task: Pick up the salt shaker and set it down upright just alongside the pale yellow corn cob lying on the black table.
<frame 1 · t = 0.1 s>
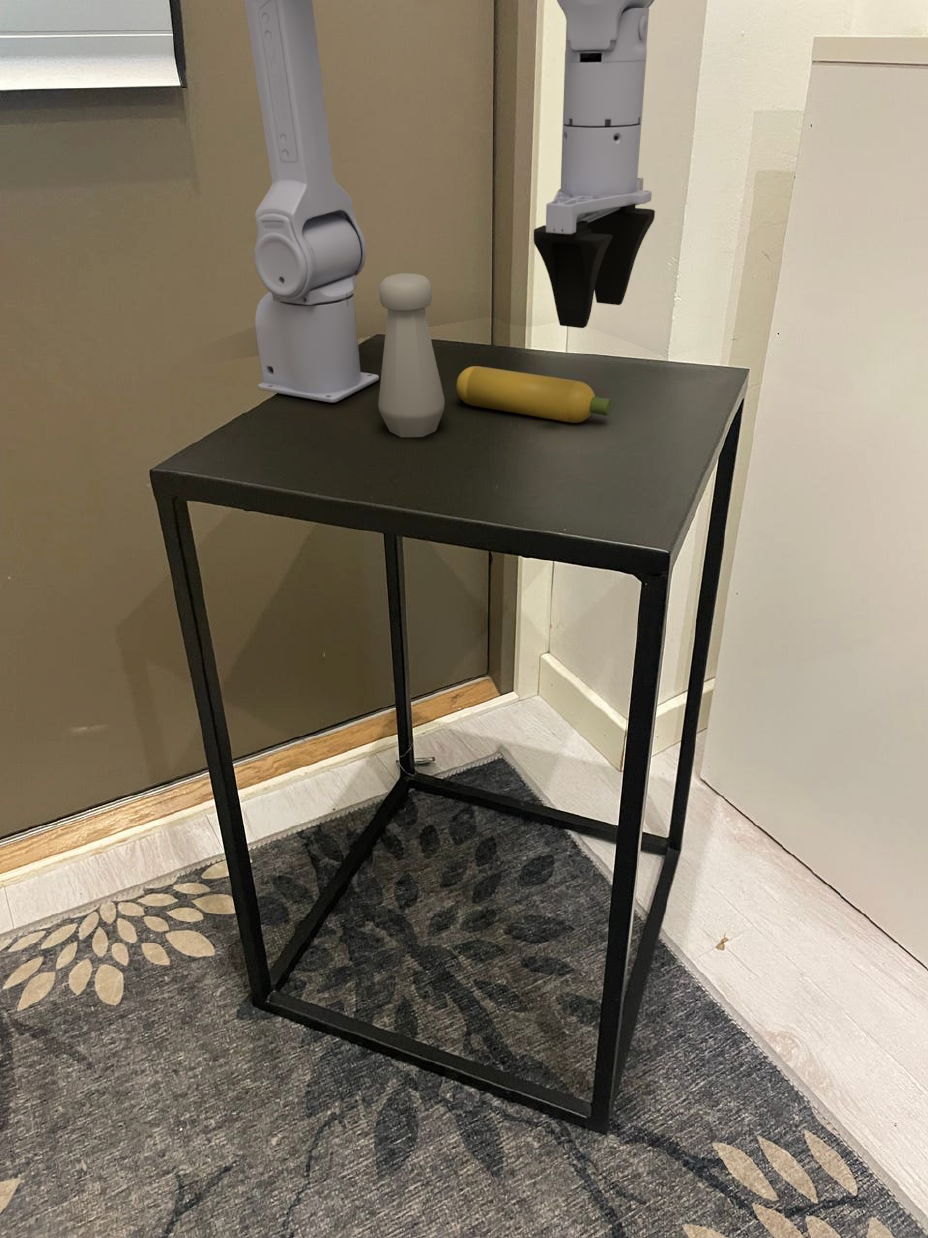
hand: (591, 314, 74), 10 cm above the table, tool pointing down, fingers open, 7 cm apart
salt shaker: (413, 431, 82), on the table
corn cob: (523, 412, 84), on the table
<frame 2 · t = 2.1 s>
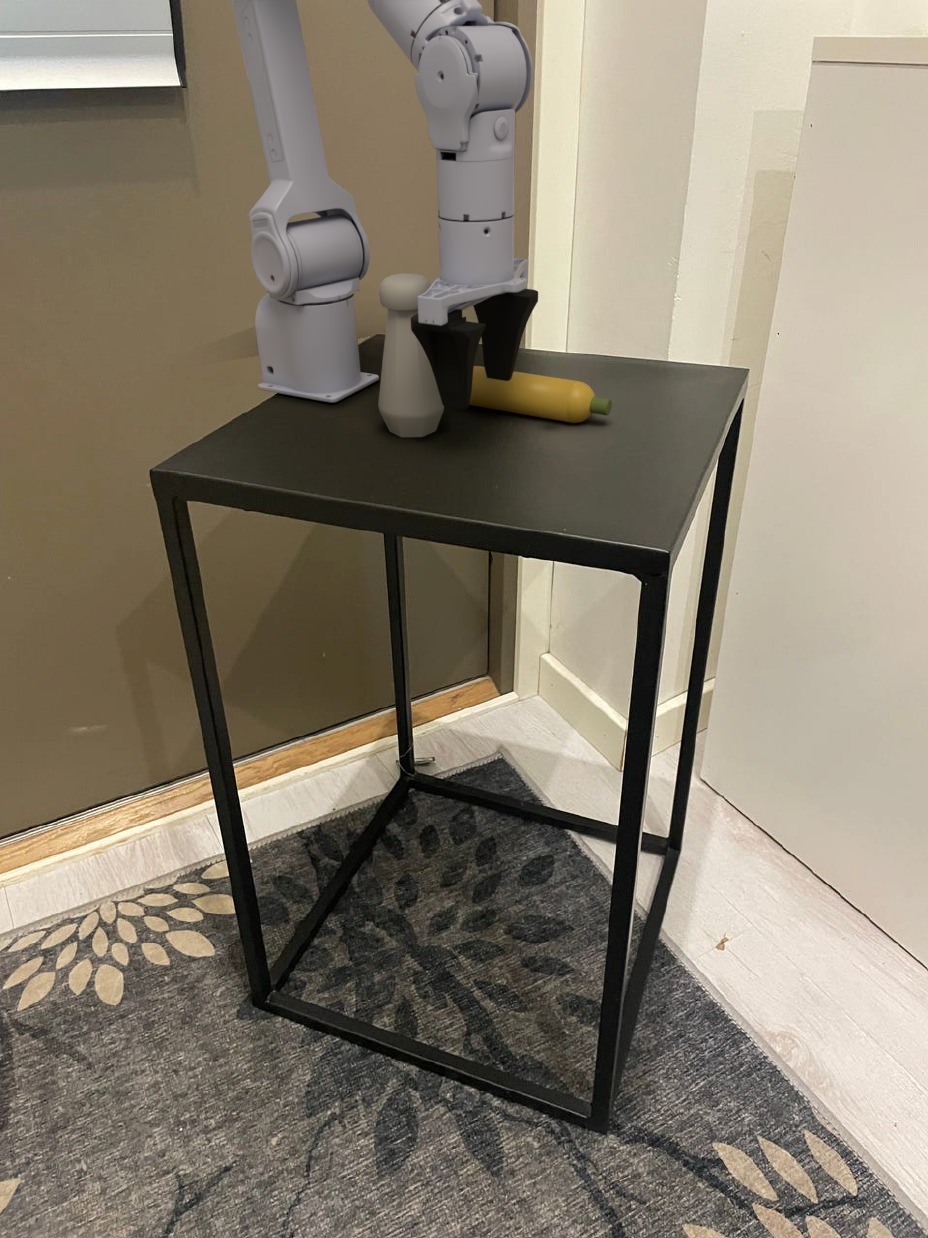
hand: (478, 391, 76), 4 cm above the table, tool pointing down, fingers open, 7 cm apart
nothing on the table moved.
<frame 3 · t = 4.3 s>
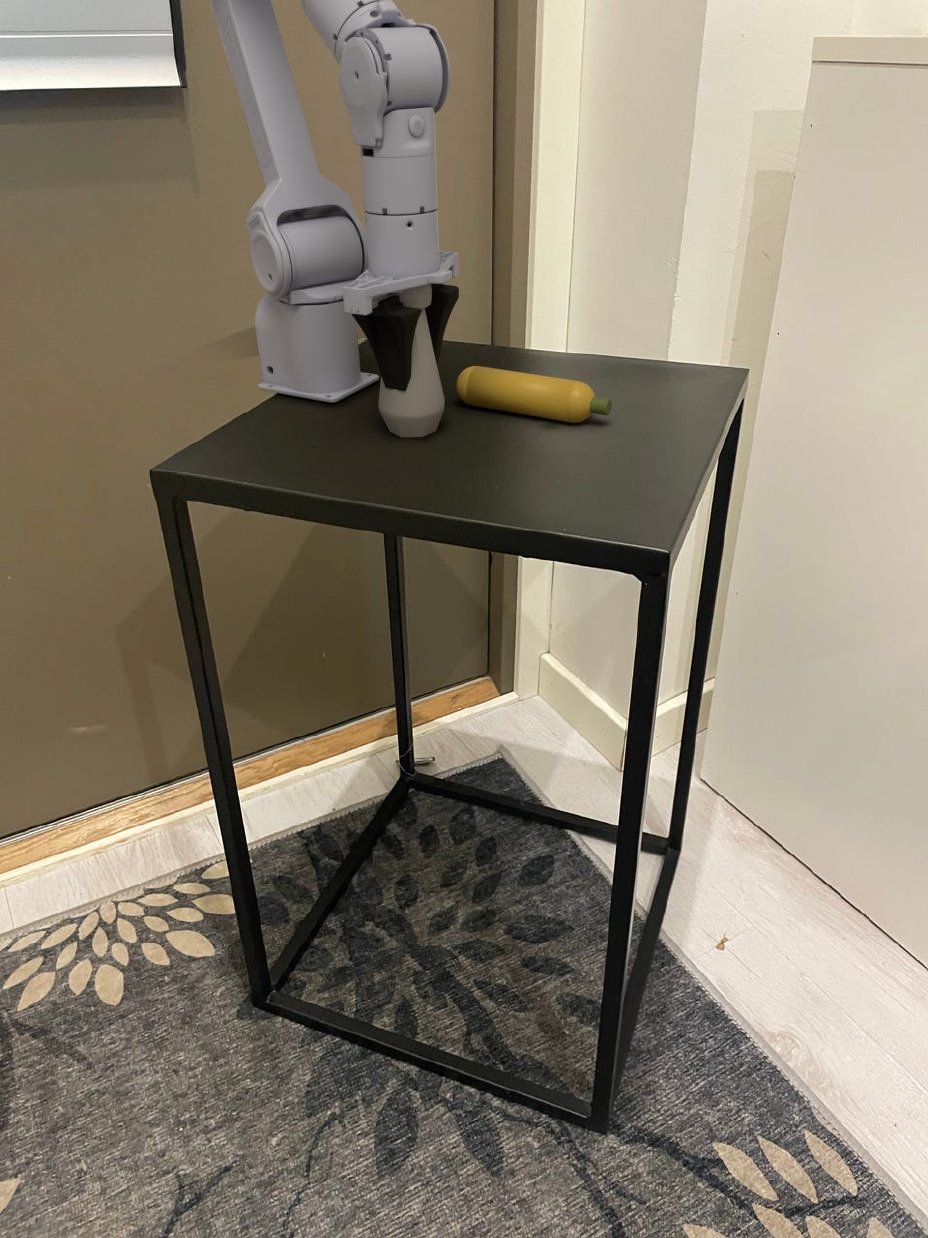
hand: (410, 380, 79), 4 cm above the table, tool pointing down, fingers closed on salt shaker, 4 cm apart
salt shaker: (413, 431, 82), on the table, touching gripper
everything else where it was.
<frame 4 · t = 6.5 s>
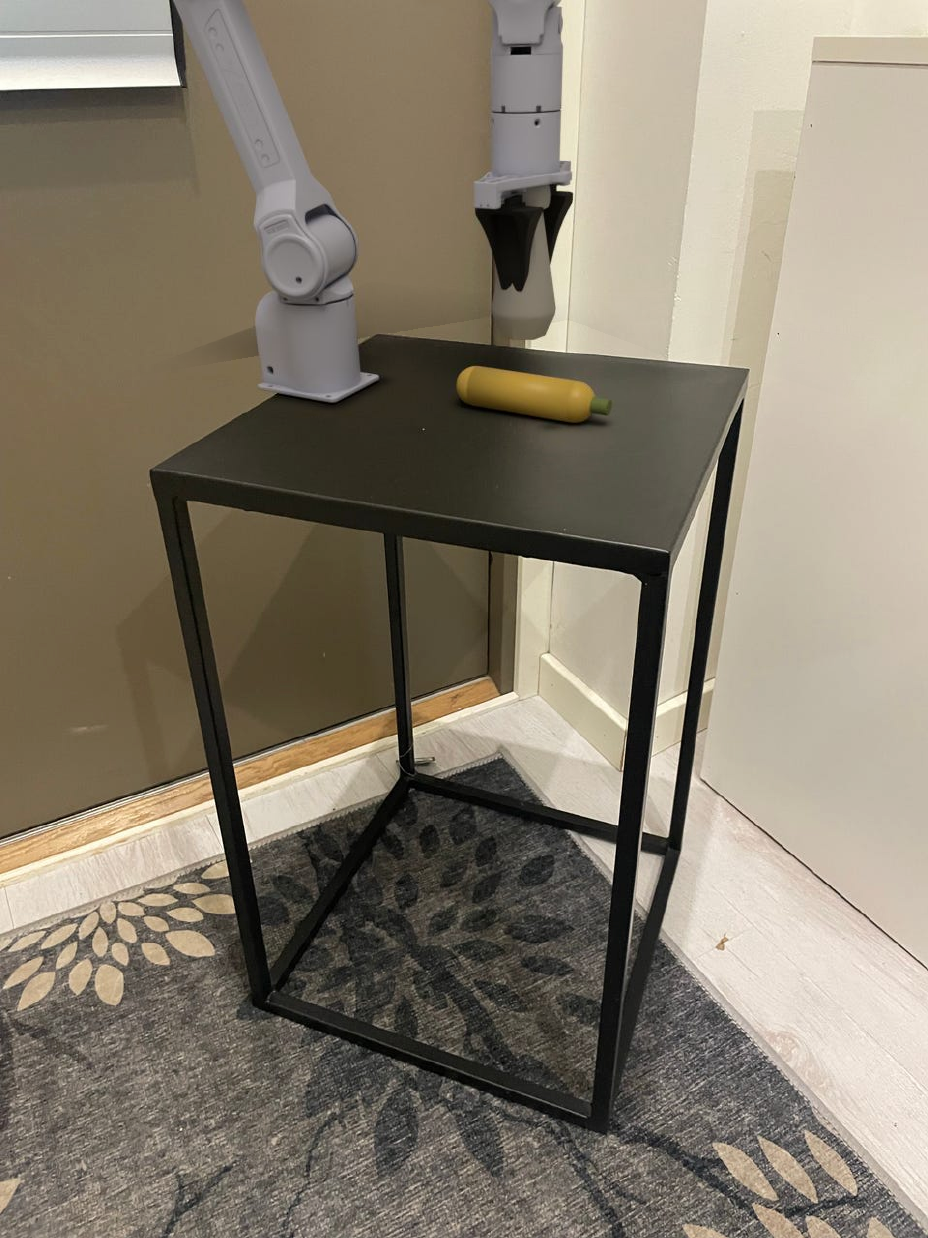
hand: (524, 284, 82), 10 cm above the table, tool pointing down, fingers closed on salt shaker, 4 cm apart
salt shaker: (522, 336, 84), point 6 cm above the table, touching gripper
everything else where it was.
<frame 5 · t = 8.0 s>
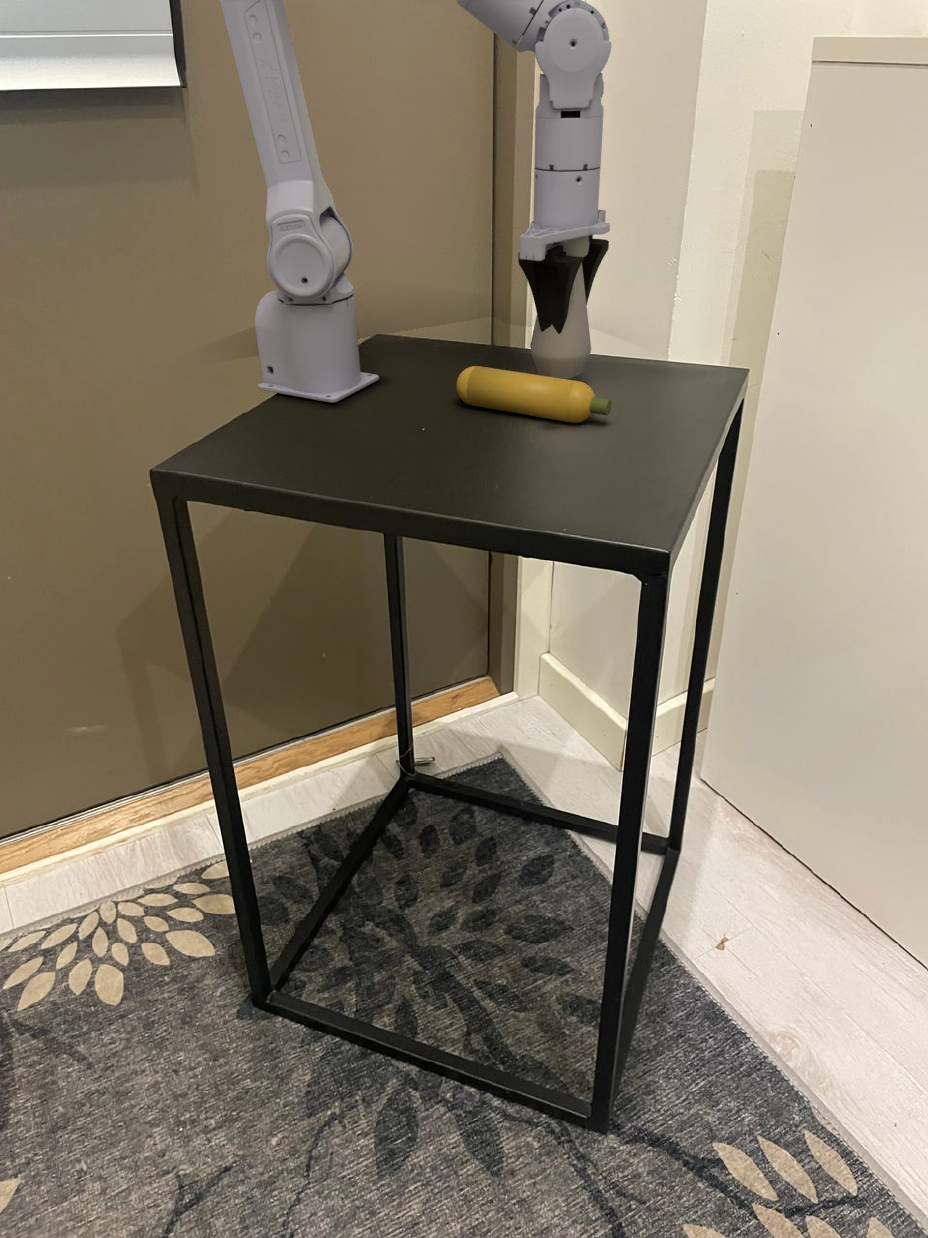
hand: (561, 326, 87), 6 cm above the table, tool pointing down, fingers closed on salt shaker, 4 cm apart
salt shaker: (559, 374, 89), point 1 cm above the table, touching gripper
everything else where it was.
when the fingers open (4 cm above the table, at t = 8.9 s): salt shaker stays where it is, on the table.
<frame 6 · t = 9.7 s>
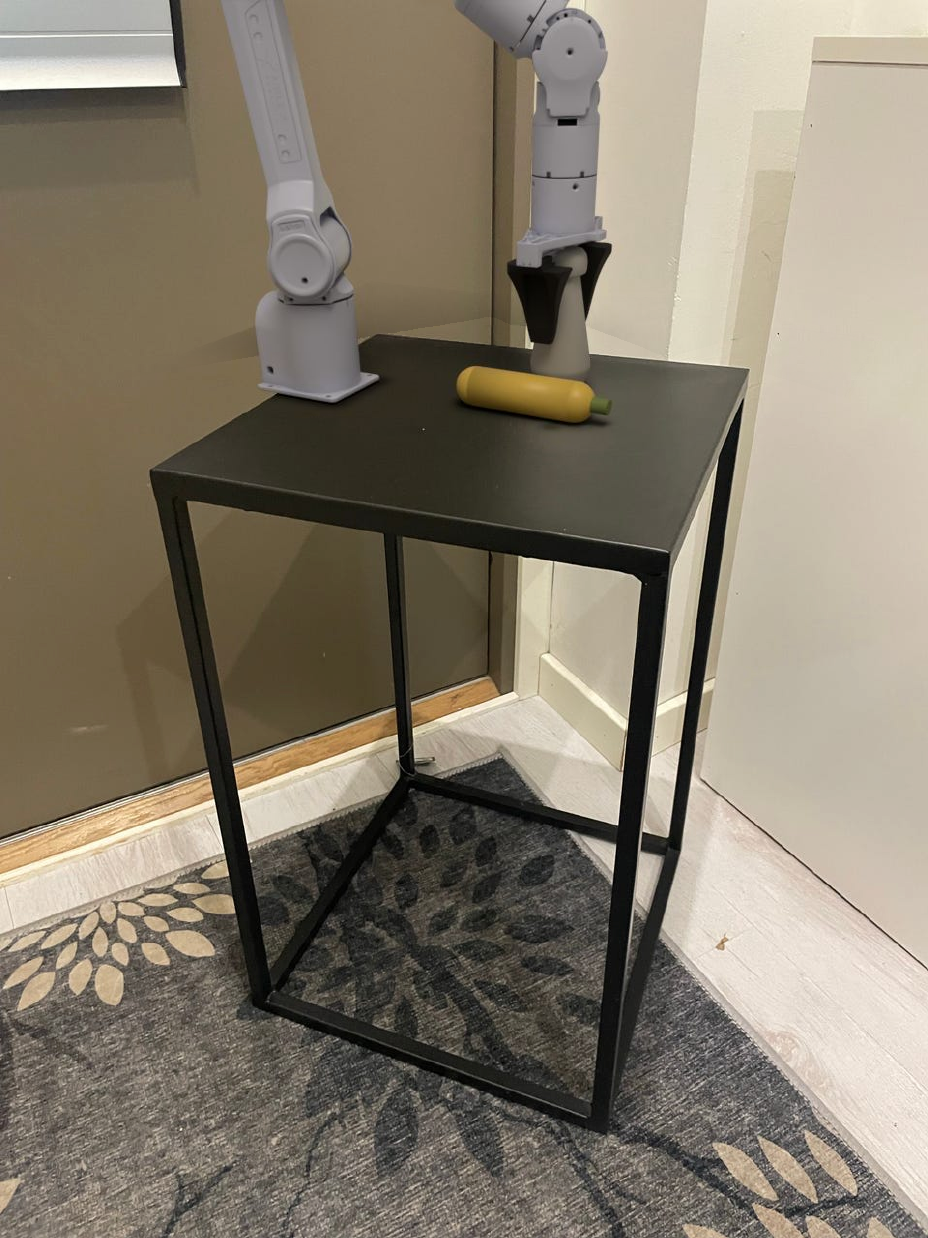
hand: (558, 332, 87), 5 cm above the table, tool pointing down, fingers open, 7 cm apart
salt shaker: (558, 389, 90), on the table
everything else where it was.
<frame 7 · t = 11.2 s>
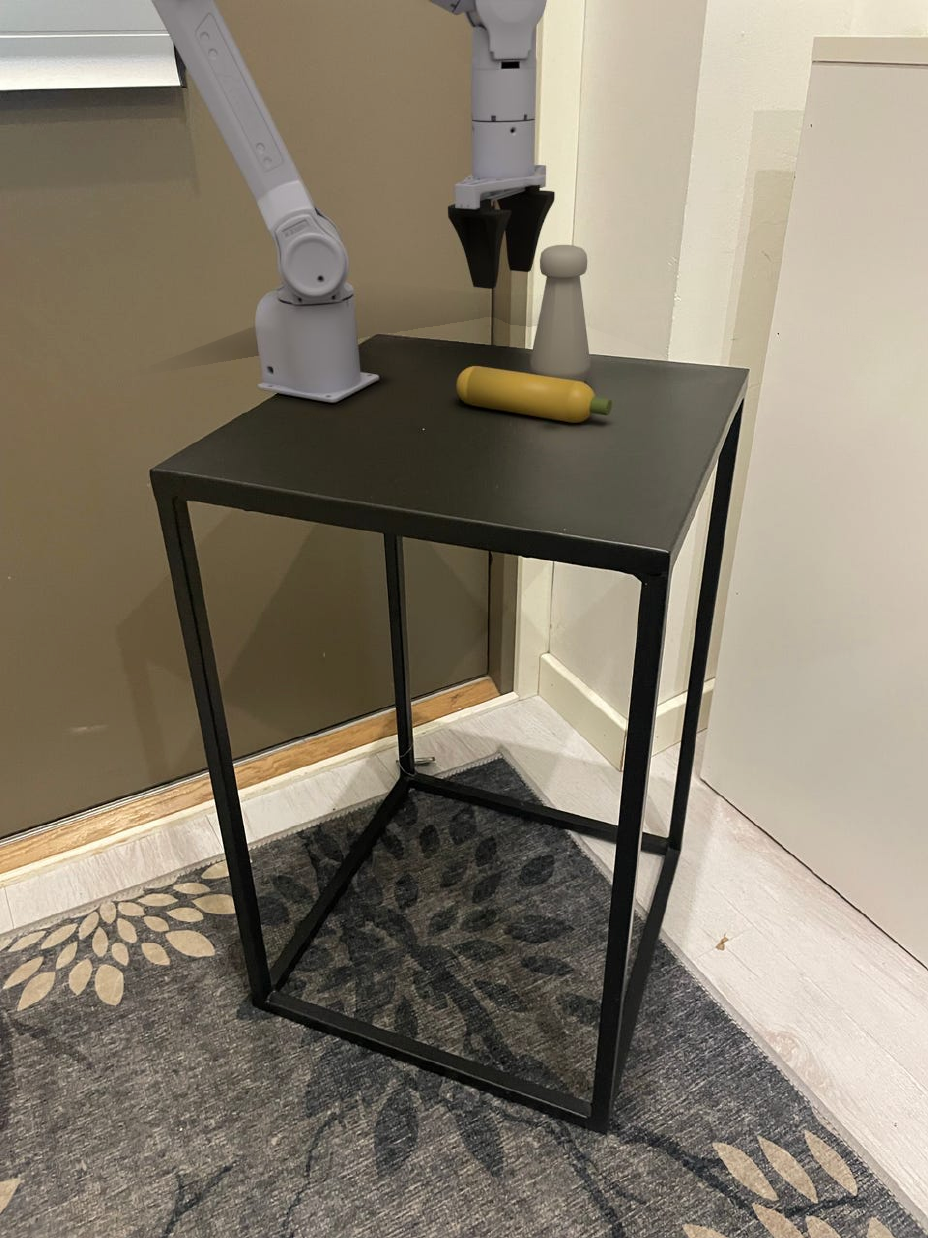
hand: (502, 278, 89), 9 cm above the table, tool pointing down, fingers open, 7 cm apart
nothing on the table moved.
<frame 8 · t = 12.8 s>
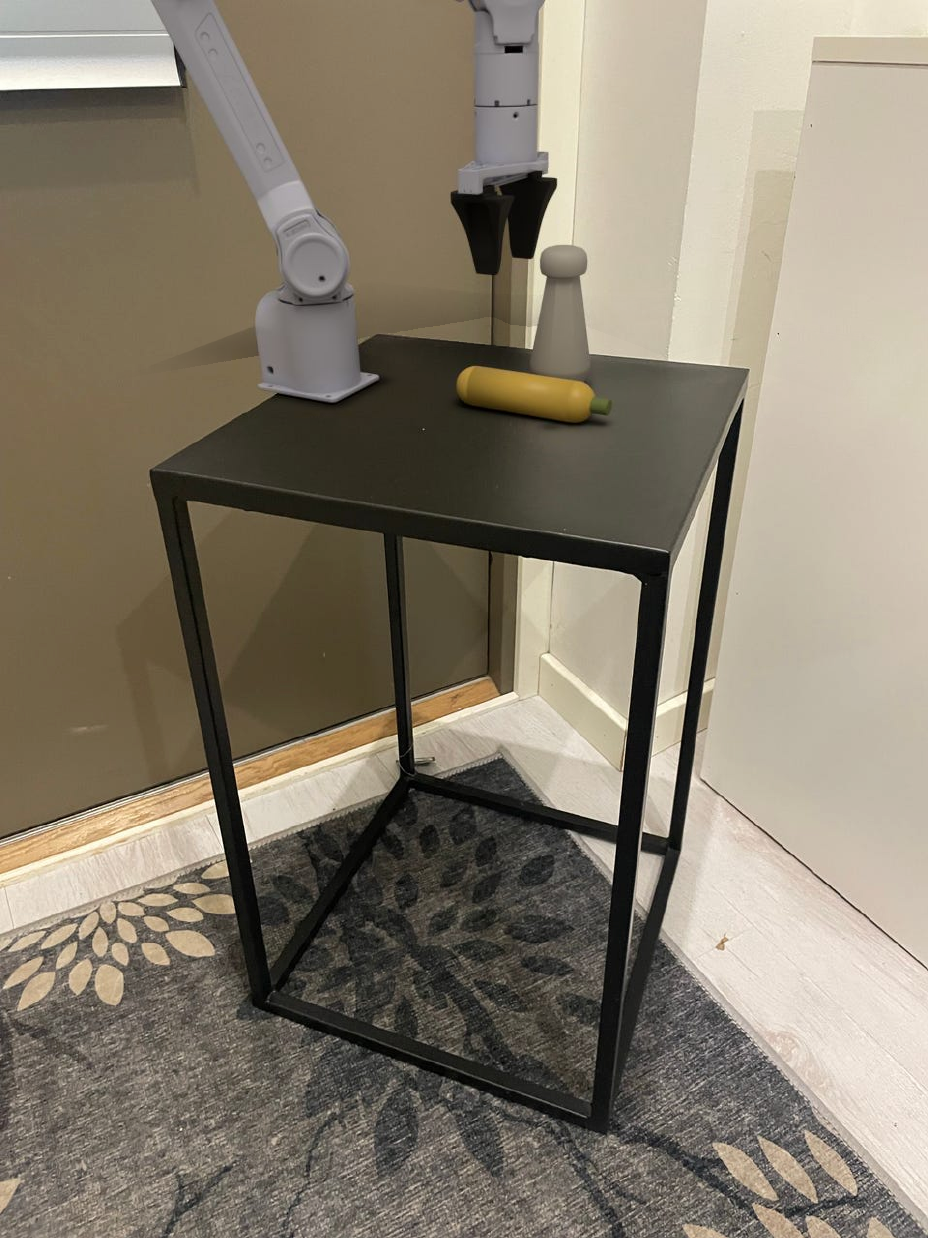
hand: (505, 265, 89), 10 cm above the table, tool pointing down, fingers open, 7 cm apart
nothing on the table moved.
at the end: salt shaker inside the target area on the table beside the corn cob (0.6 cm from its centre), on the table; salt shaker tilted 0°; the gripper is holding nothing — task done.
